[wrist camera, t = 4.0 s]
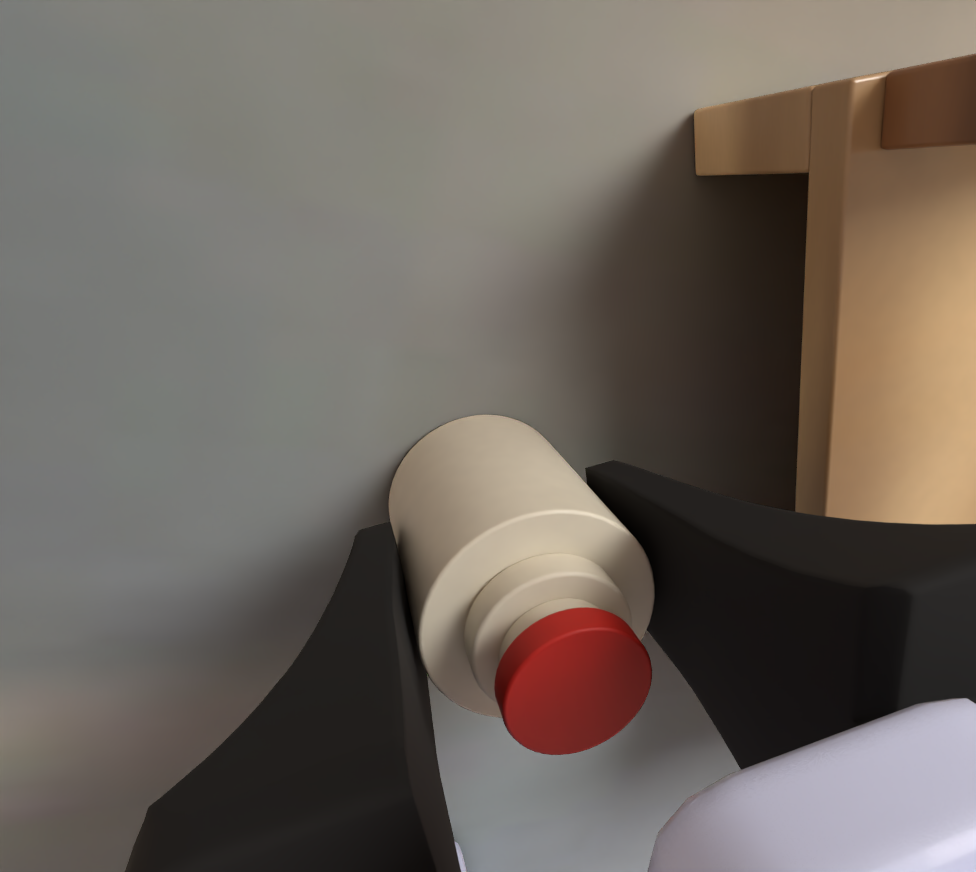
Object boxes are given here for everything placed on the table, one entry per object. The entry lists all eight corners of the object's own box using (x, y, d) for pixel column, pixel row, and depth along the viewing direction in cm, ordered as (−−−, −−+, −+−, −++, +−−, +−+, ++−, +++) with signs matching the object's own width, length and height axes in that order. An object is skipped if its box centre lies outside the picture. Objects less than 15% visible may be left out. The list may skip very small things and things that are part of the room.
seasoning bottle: (410, 595, 14) (465, 839, 9) (368, 439, 13) (405, 624, 7) (571, 547, 15) (714, 748, 10) (551, 394, 13) (708, 533, 8)
